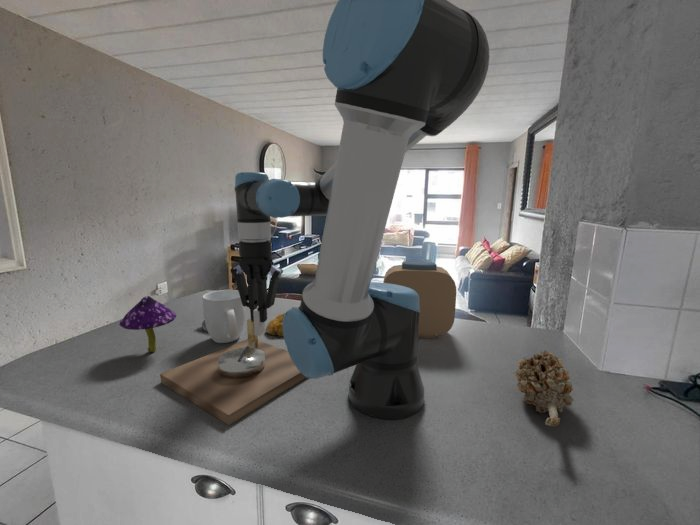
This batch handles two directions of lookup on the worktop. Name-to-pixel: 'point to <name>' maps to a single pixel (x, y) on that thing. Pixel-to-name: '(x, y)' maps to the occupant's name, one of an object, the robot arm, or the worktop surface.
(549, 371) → the morel mushroom
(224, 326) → the mug
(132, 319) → the decorative mushroom
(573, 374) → the worktop surface
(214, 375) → the base plate
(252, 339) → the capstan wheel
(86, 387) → the worktop surface
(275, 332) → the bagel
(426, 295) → the alarm clock
